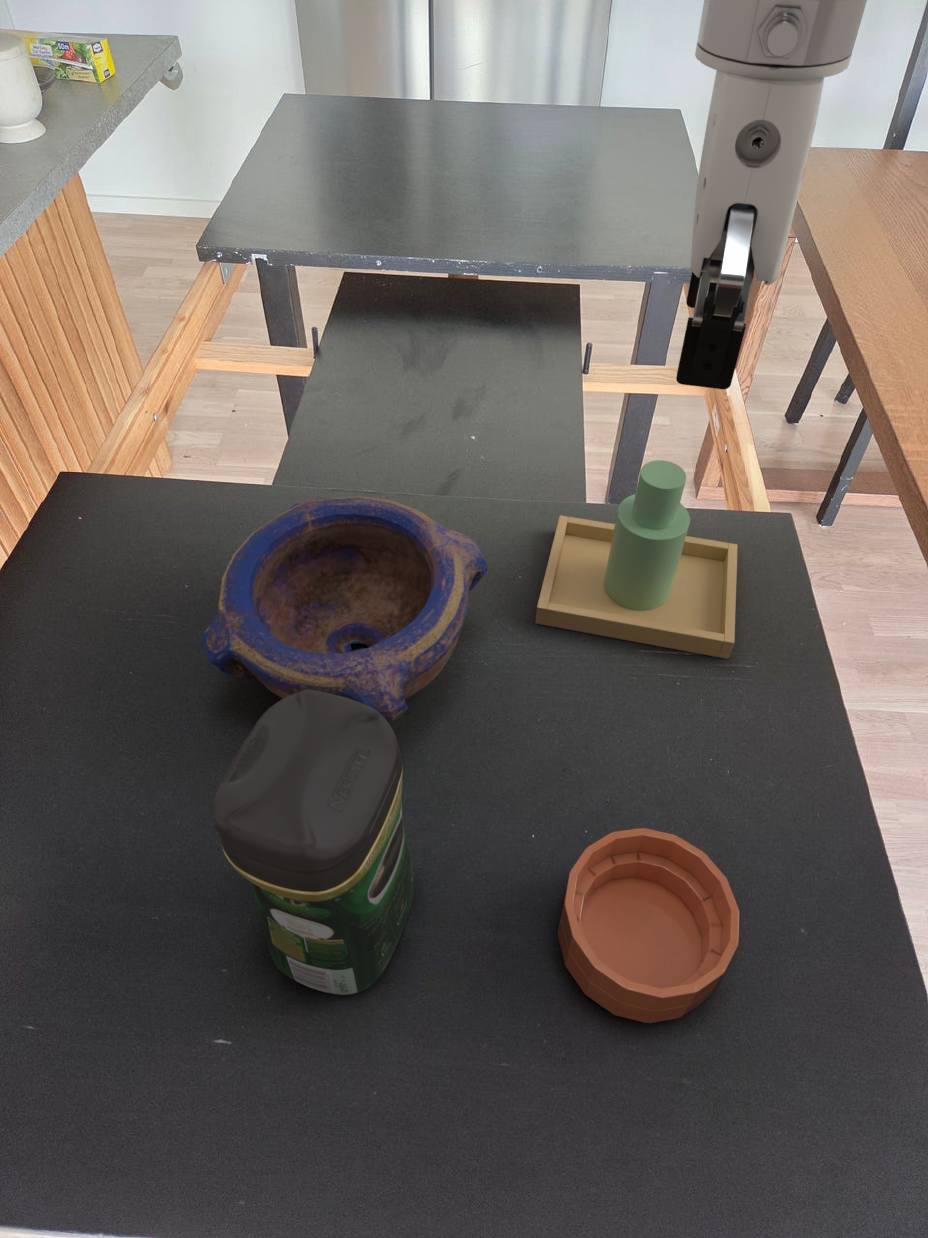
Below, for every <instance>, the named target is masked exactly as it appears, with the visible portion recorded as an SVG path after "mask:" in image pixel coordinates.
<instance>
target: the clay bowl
mask: <svg viewBox="0 0 928 1238" xmlns="http://www.w3.org/2000/svg"><path fill="white" fill-rule="evenodd" d="M557 938H558V942H559V947H560V950H561V951H560V952H561V955H562V958H563V963H564V965H565V966H564V967H566V969H567V971H568V972H569V974H570V975H571V976H572V978H573V979H574V981H575V982H576V984H577V985H578V987H579V988H580V990H581V991H582V992H583V994H584V995H585V996H586V997H588V998H589V999H591V1000H592V1001H594V1002H595V1003H597V1004H598V1005H599V1006H600V1007H602V1008H603V1009H605V1010H606V1011H608V1012H609V1013H611V1014H612V1015H614V1016H617V1017H622V1018H625V1019H629V1020H633V1021H636V1022H641V1023H645V1024H652V1023H658V1022H665V1021H669V1020H670V1021H671V1020H676V1019H680V1018H682V1017H684V1016H685V1015H687V1014H688V1013H690V1012H691V1011H692V1010H694V1009H695V1008H697V1007H698V1006H699V1005H701V1004H702V1003H703V1002H705V1001H706V1000H707V999H708V997H709V996H710V995H711V993H712V992H713V990H714V989H715V987H716V986H717V984H718V983H719V981H720V980H721V978H722V977H723V975H724V974H725V972H726V970H727V969H728V966H729V964H730V963H731V960H732V958H733V957H734V954H735V953H736V951H737V948H739V943H740V909H739V907H738V904H737V901H736V898H735V896H734V894H733V890H732V888H731V885H730V883H729V880H728V879H727V877H726V876H725V874H724V873H723V872H722V871H721V870H720V869H719V868H718V866H717V865H716V864H715V863H714V862H713V861H712V859H711V858H710V857H709V856H708V855H707V854H706V853H705V852H704V851H703V850H701V849H699V848H698V847H697V846H695V845H693V844H691V843H689V842H688V841H686V840H685V839H683V838H681V837H680V836H678V835H676V834H673V833H668V832H664V831H659V830H655V829H651V828H645V827H639V828H638V827H637V828H632V829H625V830H618V831H612V832H610V833H608V834H607V835H605V836H603V837H602V838H600V839H598V840H597V841H594V842H593V843H591V844H590V845H588V846H587V847H586V848H585V849H584V850H583V852H582V853H581V855H580V856H579V858H578V859H577V861H576V862H575V864H574V865H573V866H572V868H571V869H570V871H569V873H568V876H567V880H566V885H565V890H564V894H563V899H562V903H561V908H560V914H559V920H558V927H557Z"/></svg>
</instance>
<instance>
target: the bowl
mask: <svg viewBox="0 0 928 1238" xmlns="http://www.w3.org/2000/svg"><path fill="white" fill-rule="evenodd" d="M487 572H488V565H487V562H486V559H485V557H484V555H483V554H482V552H481V550H480V548H479V546H478V545H477V543H476V541H475V539H473V538H472V537H470V536H469V535H468V534H465V533H462V532H459V531H456V530H454V529H451V528H448V527H446V526H443V525H441V524H440V523H438V522H437V521H436V520H434V519H432V518H431V517H429V516H427V515H426V514H425V513H423V512H421V511H420V510H419V509H416V508H413V507H411V506H408V505H406V504H404V503H403V504H402V503H400V502H397V501H394V500H392V499H385V498H378V497H369V496H348V497H347V496H346V497H345V496H344V497H317V498H312V499H306V500H304V501H302V502H298V503H294V504H293V505H292V506H291V507H290V508H288V509H286V510H285V511H283V512H281V513H279V514H278V515H276V516H274V517H273V518H272V519H271V520H269V521H268V522H266V523H264V525H262V526H261V527H259V528H258V529H256V530H255V531H252V533H251V534H250V535H249V536H248V537H247V538H246V539H245V541H244V542H242V544H240V546H239V548H238V549H237V550H236V551H235V552H234V553H233V555H232V556H231V559H230V561H229V564H228V565H227V567H226V569H225V571H224V573H223V575H222V578H221V585H220V591H219V595H218V596H219V597H218V602H217V603H218V604H217V612H216V615H215V616H214V618H213V620H212V621H211V623H210V624H209V626H207V628H206V630H205V631H204V633H203V634H202V639H201V647H202V649H203V652H204V654H205V657H206V658H207V659H208V660H209V662H210V663H211V664H212V665H214V666H215V667H216V668H217V669H218V670H219V671H221V672H223V673H225V674H227V675H229V676H231V677H234V678H235V679H242V680H243V679H245V680H251V681H255V682H260V683H261V684H262V685H263V687H265V688H266V689H267V690H268V691H270V692H272V693H273V694H274V695H276V696H277V697H279V698H281V700H282V699H284V698H285V697H287V696H290V695H292V694H295V693H298V692H301V691H302V690H305V689H309V690H316V691H320V692H325V693H330V694H334V695H338V696H341V697H345V698H349V699H351V700H354V701H357V702H360V703H363V704H365V705H368V706H370V707H372V708H374V709H375V710H376V711H377V712H379V713H380V714H381V715H382V716H383V717H384V718H385V719H386V721H387V722H388V723H389V722H393V721H395V720H397V719H399V718H400V717H403V716H404V715H405V714H406V712H407V710H408V706H407V703H406V699H408V698H410V697H411V696H414V694H416V693H417V692H419V691H420V690H422V689H423V688H425V687H426V686H428V685H429V684H430V683H431V682H432V681H433V680H434V679H435V678H436V677H437V676H438V675H440V673H441V672H442V670H443V669H444V667H445V665H447V663H448V662H449V659H450V658H451V656H452V654H453V652H454V650H455V648H456V646H457V643H458V640H459V637H460V633H461V631H462V628H463V626H464V623H465V621H466V618H467V615H468V611H469V595H470V594H469V593H470V592H471V591H472V590H473V589H474V588H475V587H476V586H477V584H478V583H479V582H480V581H481V580H482V578H484V576H485V575H486V573H487ZM355 644H358V645H359V644H364V645H365V646H367V647H366V648H362V649H355V650H352V647H351V645H355Z"/></svg>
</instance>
